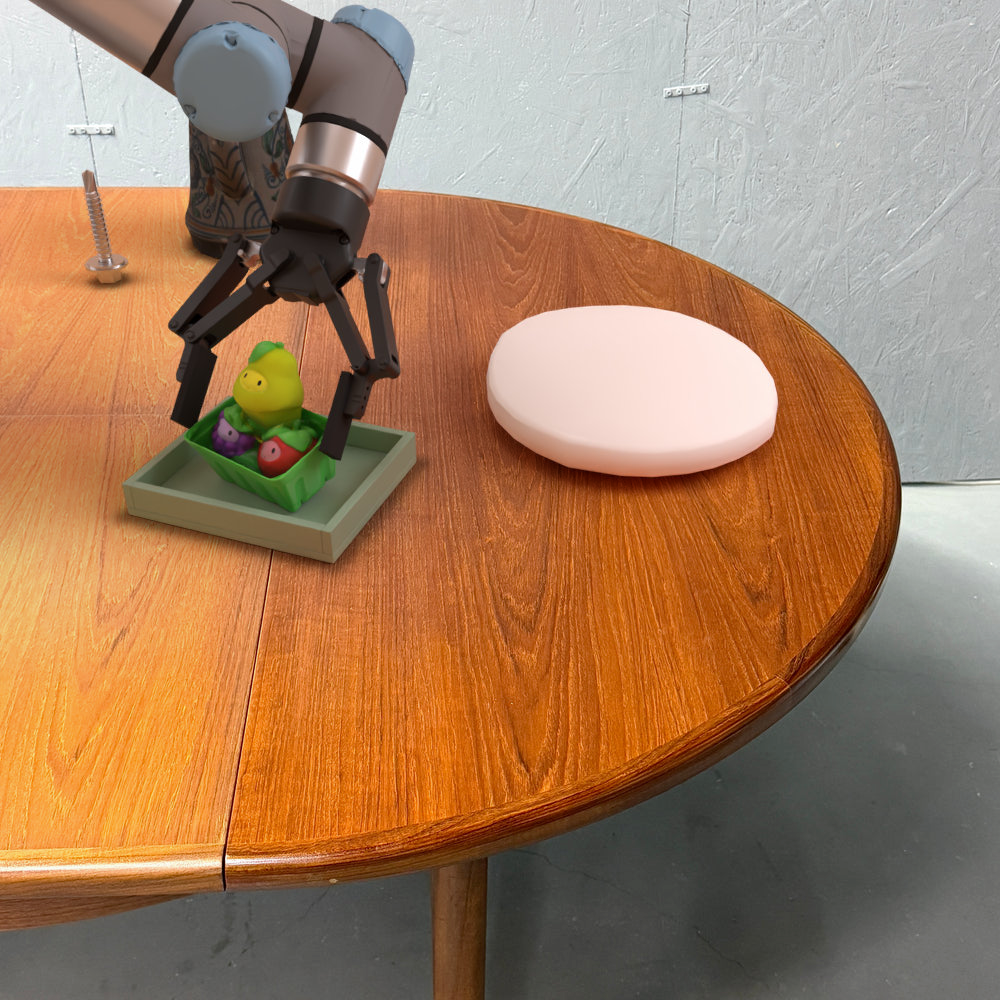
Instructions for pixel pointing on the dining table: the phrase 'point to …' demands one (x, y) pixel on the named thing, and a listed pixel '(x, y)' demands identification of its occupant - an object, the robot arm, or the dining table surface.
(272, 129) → the dark brown tall vessel
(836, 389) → the dining table surface
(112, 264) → the screw
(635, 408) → the pale pink round cushion
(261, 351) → the fruit basket
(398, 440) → the tray
